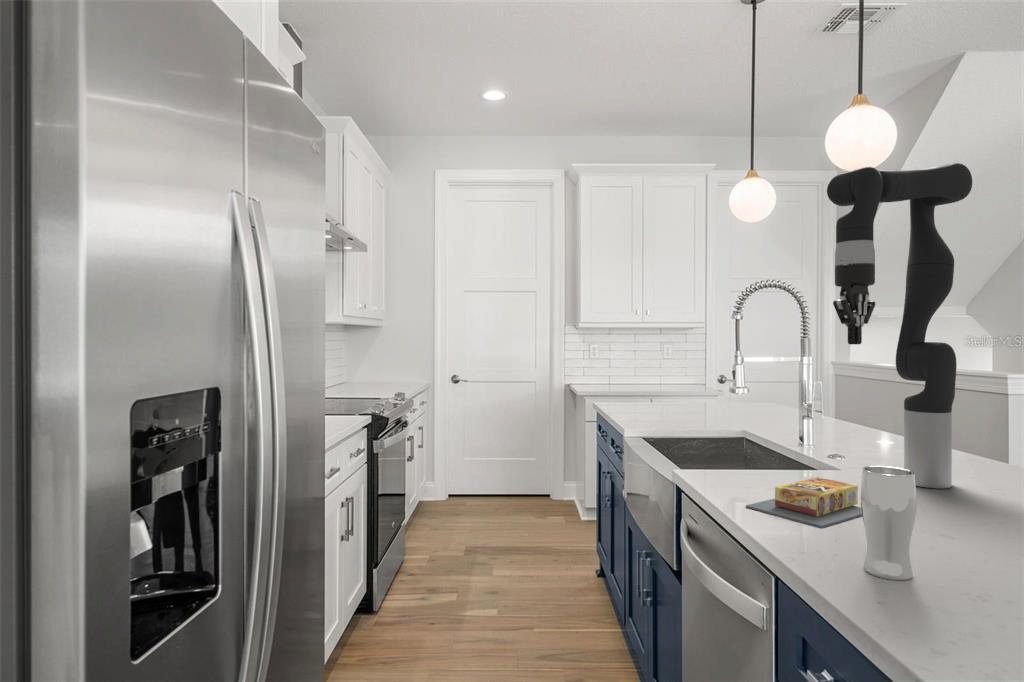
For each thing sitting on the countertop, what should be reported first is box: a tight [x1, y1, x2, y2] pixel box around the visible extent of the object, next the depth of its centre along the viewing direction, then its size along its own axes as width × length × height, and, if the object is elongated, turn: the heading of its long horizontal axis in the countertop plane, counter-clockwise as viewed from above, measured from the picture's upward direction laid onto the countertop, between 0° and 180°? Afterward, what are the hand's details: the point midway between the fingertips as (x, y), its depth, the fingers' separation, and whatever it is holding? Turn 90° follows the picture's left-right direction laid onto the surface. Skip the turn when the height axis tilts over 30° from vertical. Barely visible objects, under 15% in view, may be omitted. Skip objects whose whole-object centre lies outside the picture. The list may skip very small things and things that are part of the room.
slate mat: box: [745, 498, 863, 529], centre depth 121 cm, size 18×16×1 cm
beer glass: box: [860, 465, 917, 581], centre depth 89 cm, size 7×7×15 cm
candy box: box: [774, 476, 859, 517], centre depth 123 cm, size 9×4×15 cm
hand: (854, 344), depth 130 cm, fingers closed
